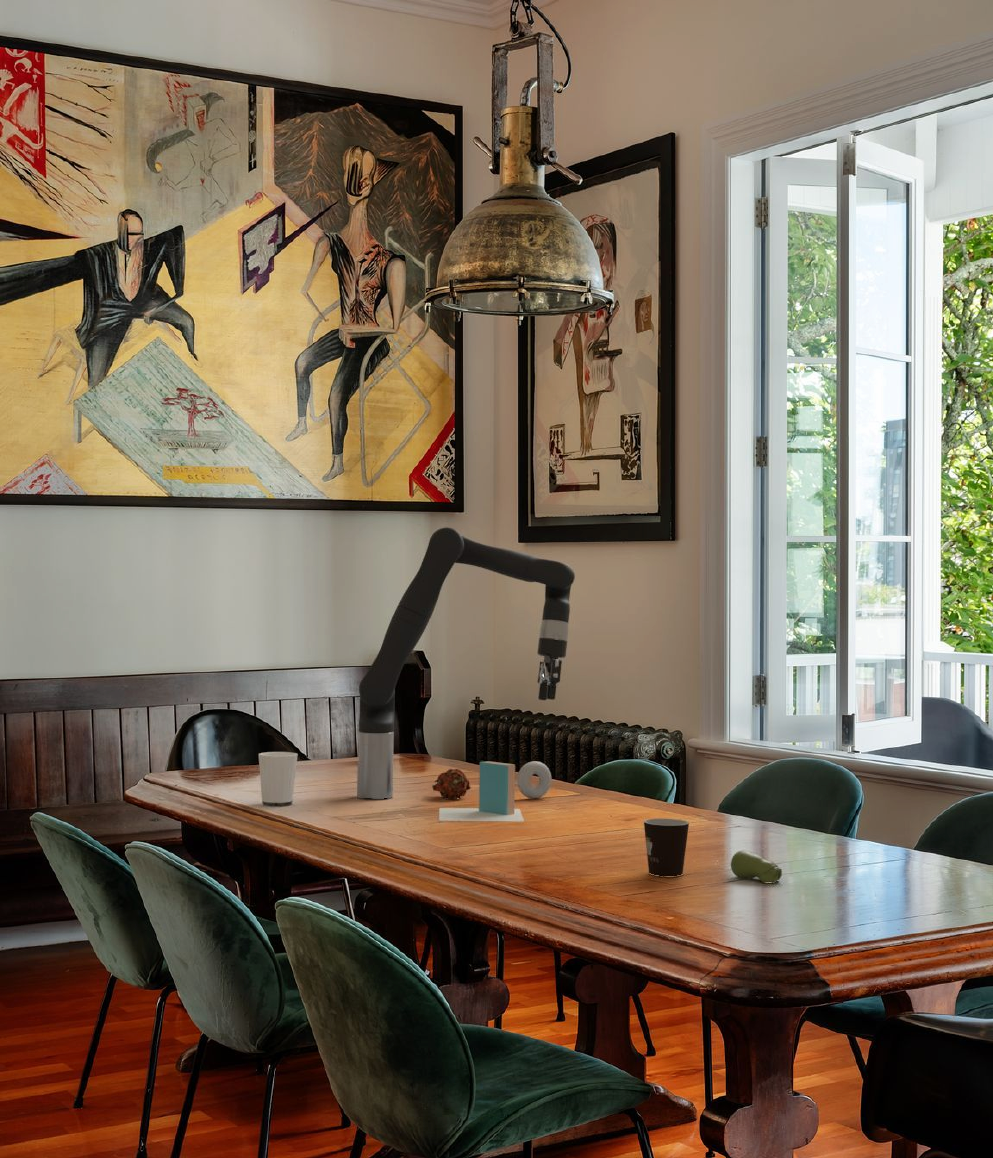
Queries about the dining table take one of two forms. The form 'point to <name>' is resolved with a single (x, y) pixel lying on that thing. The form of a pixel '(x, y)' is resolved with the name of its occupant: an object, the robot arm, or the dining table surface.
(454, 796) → the brown textured round lump
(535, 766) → the donut
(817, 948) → the dining table surface
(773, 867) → the pear
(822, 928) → the dining table surface
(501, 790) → the teal rectangular block
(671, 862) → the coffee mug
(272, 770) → the cup
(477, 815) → the felt mat
